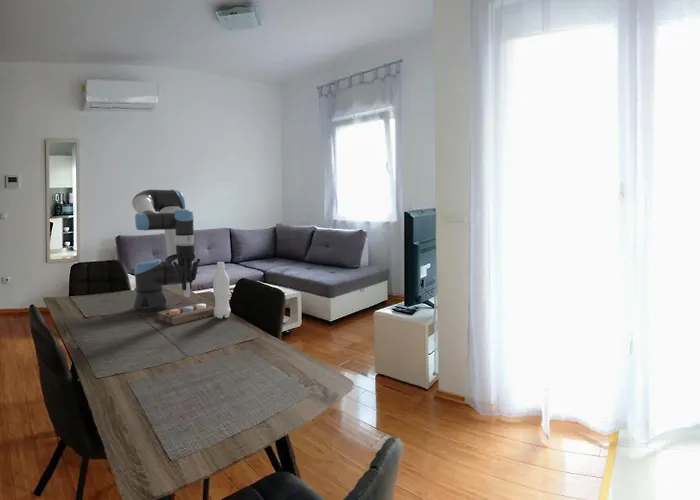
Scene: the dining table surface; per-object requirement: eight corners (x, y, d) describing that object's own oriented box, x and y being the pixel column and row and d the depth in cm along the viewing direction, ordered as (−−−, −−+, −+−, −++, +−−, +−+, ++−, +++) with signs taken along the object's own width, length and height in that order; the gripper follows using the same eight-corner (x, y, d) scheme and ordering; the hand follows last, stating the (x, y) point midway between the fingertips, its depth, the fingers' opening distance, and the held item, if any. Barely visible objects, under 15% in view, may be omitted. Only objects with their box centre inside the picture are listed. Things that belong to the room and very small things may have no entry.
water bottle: (233, 315, 188) (231, 261, 185) (227, 319, 181) (225, 263, 178) (218, 314, 189) (216, 260, 186) (211, 319, 182) (209, 263, 179)
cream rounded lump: (194, 313, 191) (193, 305, 190) (202, 311, 194) (202, 303, 194) (199, 315, 188) (199, 306, 188) (208, 313, 191) (207, 304, 191)
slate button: (181, 316, 186) (180, 307, 185) (190, 314, 189) (189, 305, 189) (186, 318, 183) (185, 309, 182) (195, 316, 186) (195, 307, 186)
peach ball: (167, 319, 181) (166, 310, 180) (176, 317, 184) (176, 308, 184) (172, 321, 178) (171, 312, 177) (181, 319, 181) (181, 310, 181)
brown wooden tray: (157, 318, 182) (157, 312, 182) (200, 309, 199) (200, 303, 198) (174, 324, 174) (173, 318, 173) (217, 314, 190) (217, 307, 189)
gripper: (175, 246, 175) (177, 300, 178) (203, 243, 185) (204, 295, 188) (166, 245, 179) (168, 297, 183) (193, 242, 189) (195, 292, 193)
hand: (187, 296), depth 185 cm, fingers closed
